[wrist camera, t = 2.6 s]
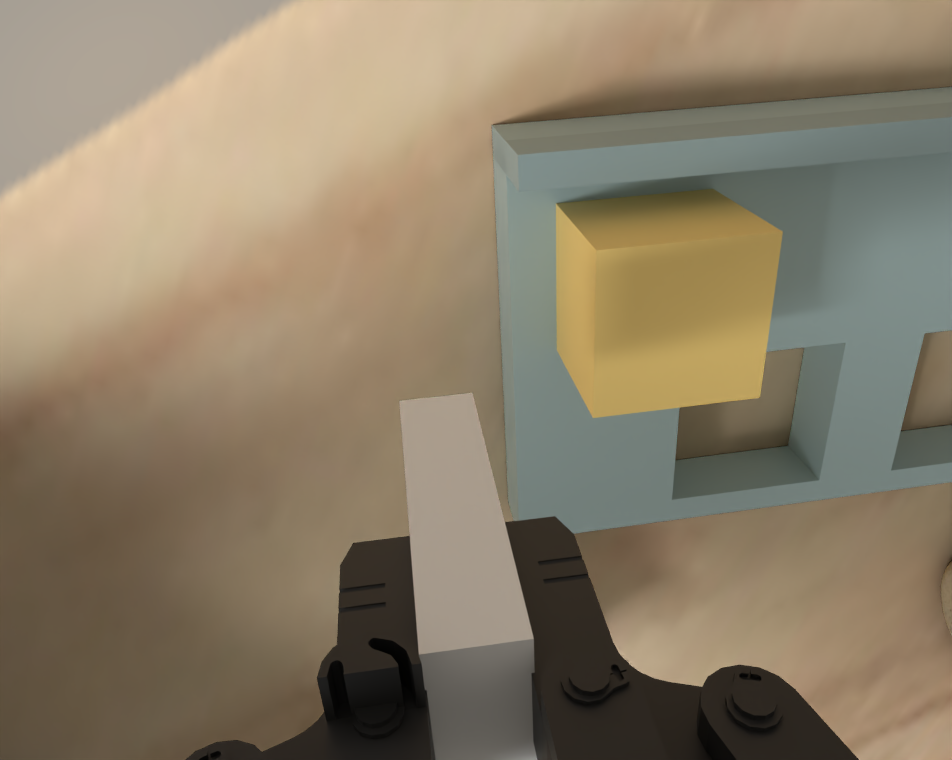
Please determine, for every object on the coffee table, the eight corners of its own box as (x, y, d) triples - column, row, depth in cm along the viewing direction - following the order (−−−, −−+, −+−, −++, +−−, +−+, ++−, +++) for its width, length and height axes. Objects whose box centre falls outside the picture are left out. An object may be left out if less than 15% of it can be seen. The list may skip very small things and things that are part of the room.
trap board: (508, 501, 32) (529, 576, 28) (491, 125, 25) (518, 154, 21) (1084, 426, 34) (1178, 485, 30) (1221, 64, 27) (1367, 80, 23)
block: (556, 349, 26) (592, 418, 22) (555, 203, 24) (596, 250, 20) (699, 333, 26) (759, 397, 23) (712, 188, 24) (782, 231, 20)
